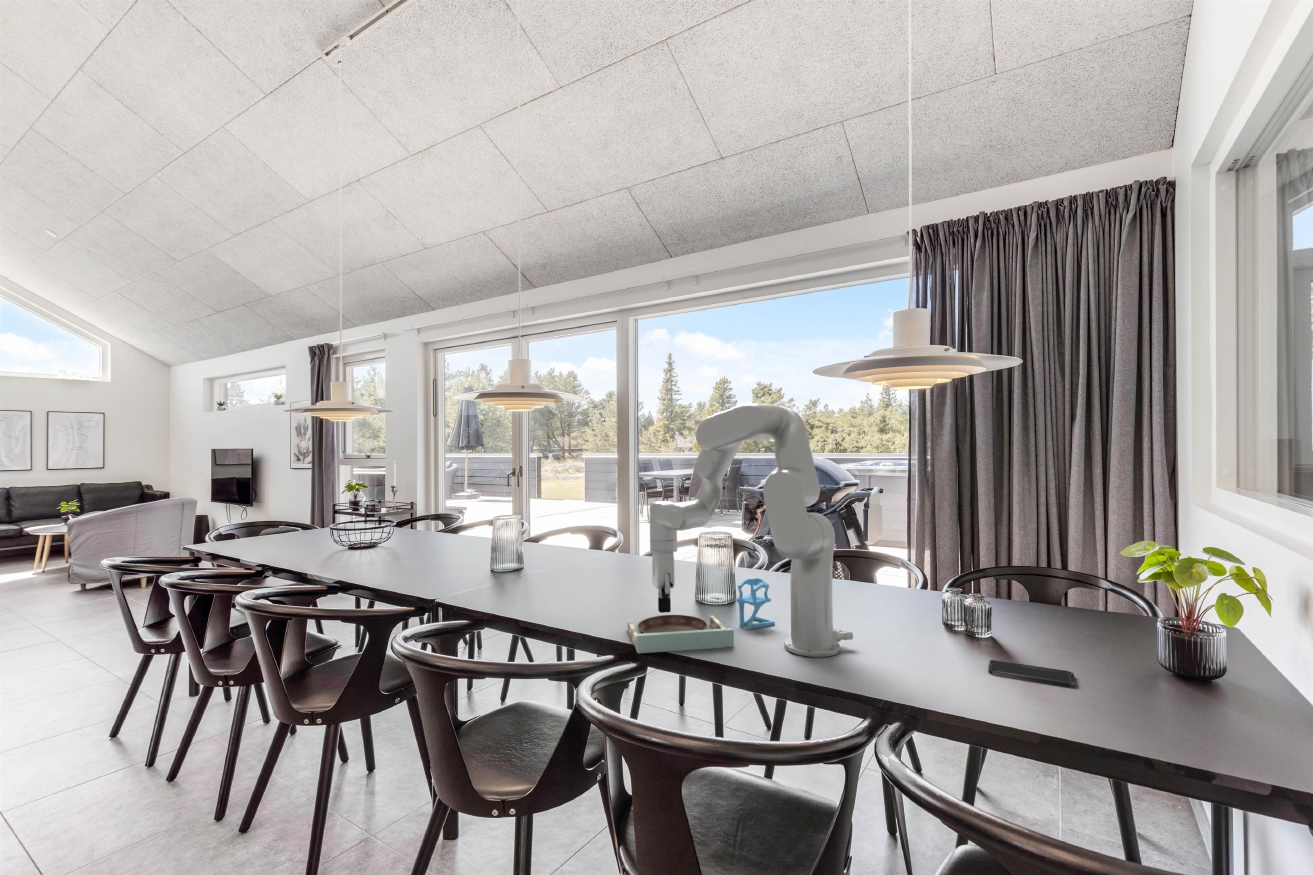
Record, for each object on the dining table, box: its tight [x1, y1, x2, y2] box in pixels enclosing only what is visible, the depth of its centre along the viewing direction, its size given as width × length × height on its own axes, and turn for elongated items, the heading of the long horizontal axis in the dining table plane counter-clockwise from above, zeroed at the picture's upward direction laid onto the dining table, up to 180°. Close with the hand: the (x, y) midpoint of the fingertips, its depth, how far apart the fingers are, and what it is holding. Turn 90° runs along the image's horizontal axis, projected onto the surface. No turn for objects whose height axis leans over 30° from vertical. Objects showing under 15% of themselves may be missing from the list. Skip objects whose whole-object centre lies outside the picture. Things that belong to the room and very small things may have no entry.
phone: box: [987, 659, 1077, 689], centre depth 126 cm, size 8×1×15 cm
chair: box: [735, 578, 776, 630], centre depth 163 cm, size 8×8×12 cm
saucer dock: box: [627, 615, 735, 654], centre depth 152 cm, size 18×23×4 cm
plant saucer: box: [637, 614, 709, 634], centre depth 155 cm, size 18×18×3 cm
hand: (664, 611), depth 171 cm, fingers closed
